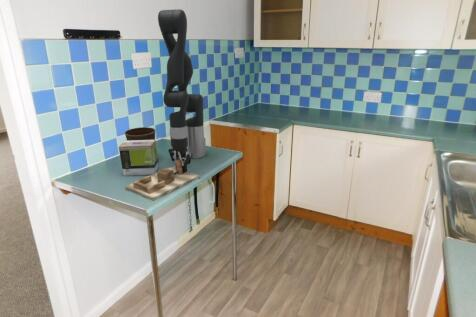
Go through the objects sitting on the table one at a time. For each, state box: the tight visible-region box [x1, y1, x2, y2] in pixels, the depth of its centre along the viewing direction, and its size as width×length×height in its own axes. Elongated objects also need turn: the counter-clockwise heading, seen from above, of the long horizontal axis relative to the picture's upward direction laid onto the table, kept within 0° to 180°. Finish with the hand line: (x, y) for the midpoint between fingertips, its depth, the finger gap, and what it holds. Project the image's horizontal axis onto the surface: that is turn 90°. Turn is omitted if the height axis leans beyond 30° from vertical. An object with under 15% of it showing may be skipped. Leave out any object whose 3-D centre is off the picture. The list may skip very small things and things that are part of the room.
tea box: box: [118, 139, 159, 176], centre depth 151 cm, size 15×10×15 cm
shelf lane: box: [124, 166, 201, 201], centre depth 140 cm, size 27×18×4 cm, turn 144°
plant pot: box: [124, 126, 156, 141], centre depth 164 cm, size 15×15×16 cm
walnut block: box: [156, 158, 184, 185], centre depth 142 cm, size 14×5×7 cm, turn 152°
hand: (181, 171), depth 148 cm, fingers open, 3 cm apart
